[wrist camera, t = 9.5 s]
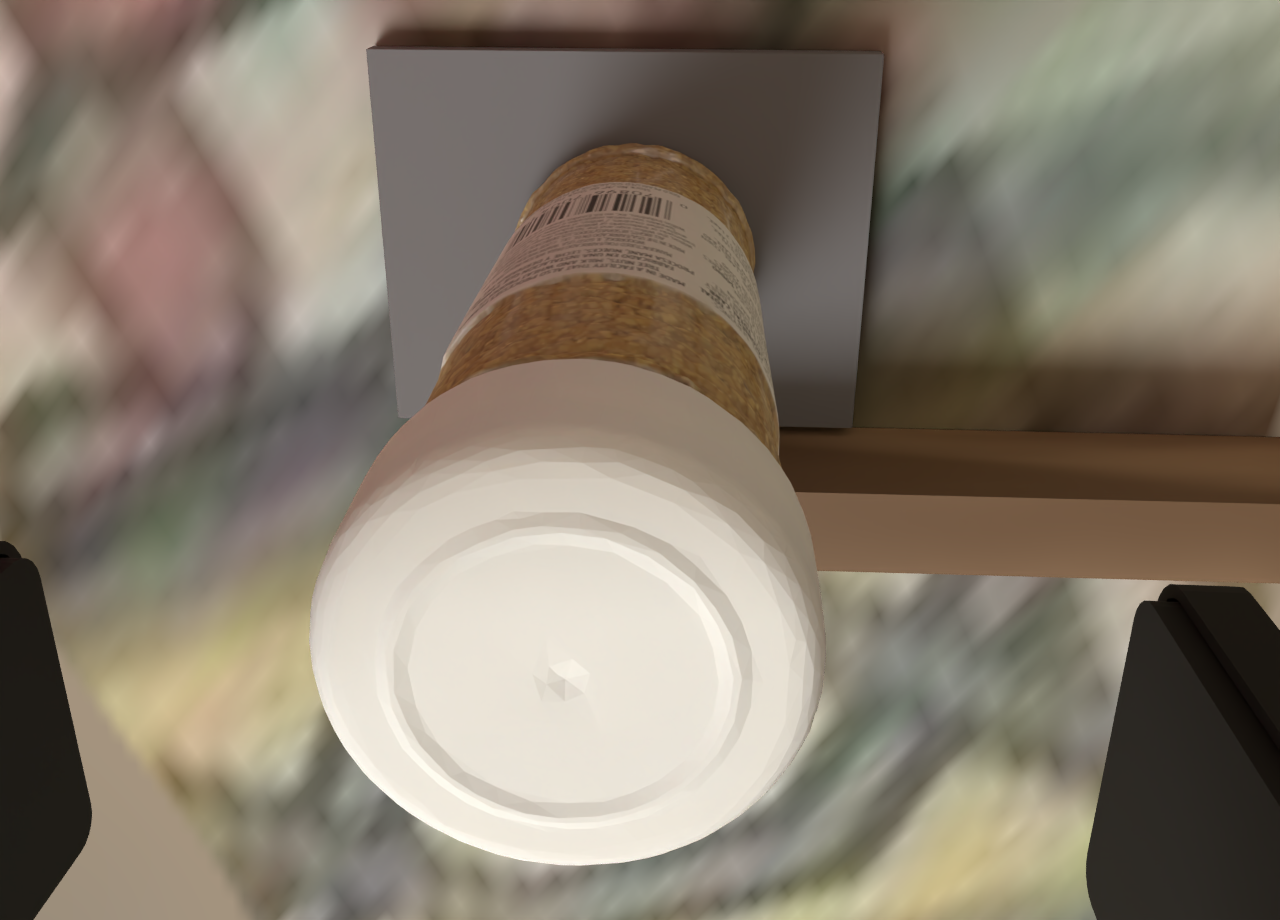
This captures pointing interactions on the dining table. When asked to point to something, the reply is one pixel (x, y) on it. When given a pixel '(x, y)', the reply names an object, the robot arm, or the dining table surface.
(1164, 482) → the guide rail
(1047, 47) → the dining table surface
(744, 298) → the sprinkles bottle
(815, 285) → the end pad
